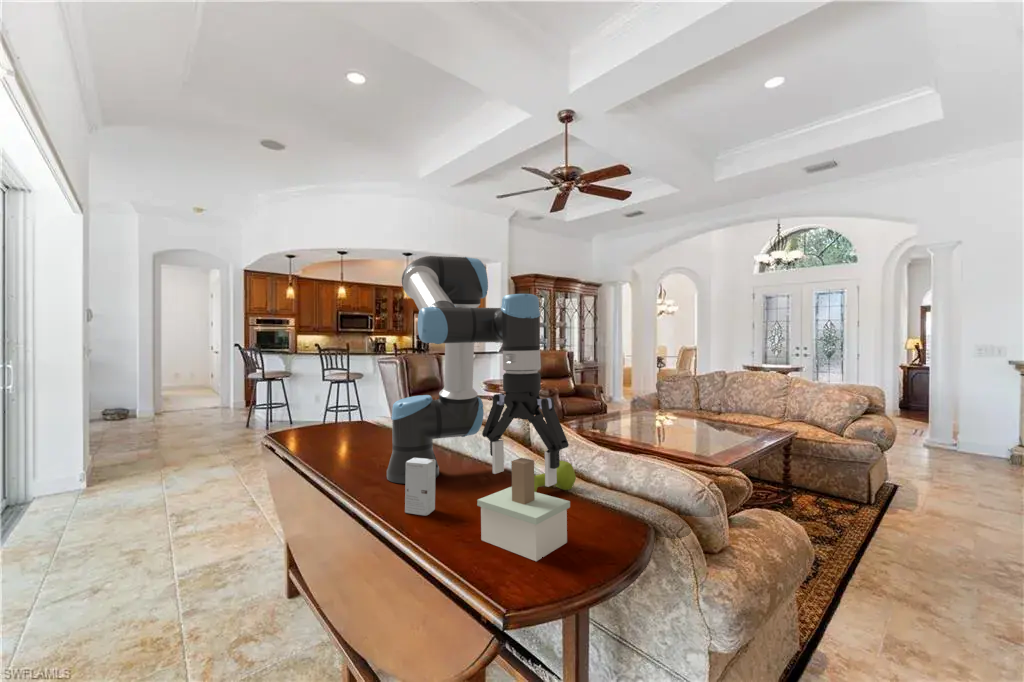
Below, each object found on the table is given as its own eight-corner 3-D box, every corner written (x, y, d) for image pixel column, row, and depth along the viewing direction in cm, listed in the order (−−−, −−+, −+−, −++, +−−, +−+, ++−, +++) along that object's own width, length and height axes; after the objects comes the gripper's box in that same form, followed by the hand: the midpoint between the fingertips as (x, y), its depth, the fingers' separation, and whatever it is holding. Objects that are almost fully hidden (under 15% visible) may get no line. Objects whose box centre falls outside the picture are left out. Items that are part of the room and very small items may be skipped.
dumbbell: (560, 483, 130) (560, 457, 130) (579, 491, 123) (578, 464, 123) (510, 494, 121) (510, 467, 121) (527, 503, 114) (527, 474, 114)
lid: (477, 511, 94) (476, 460, 94) (512, 496, 102) (512, 449, 102) (536, 531, 84) (535, 474, 84) (570, 513, 92) (569, 461, 92)
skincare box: (404, 513, 109) (403, 461, 108) (413, 506, 113) (413, 457, 113) (427, 516, 107) (427, 463, 107) (436, 509, 111) (436, 458, 111)
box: (481, 540, 94) (480, 505, 94) (513, 524, 101) (513, 492, 101) (536, 561, 85) (535, 523, 85) (567, 542, 92) (566, 507, 92)
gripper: (464, 370, 98) (466, 471, 98) (562, 375, 82) (564, 496, 82) (489, 368, 104) (490, 463, 104) (585, 372, 87) (587, 485, 87)
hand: (523, 478), depth 93 cm, fingers open, 13 cm apart
